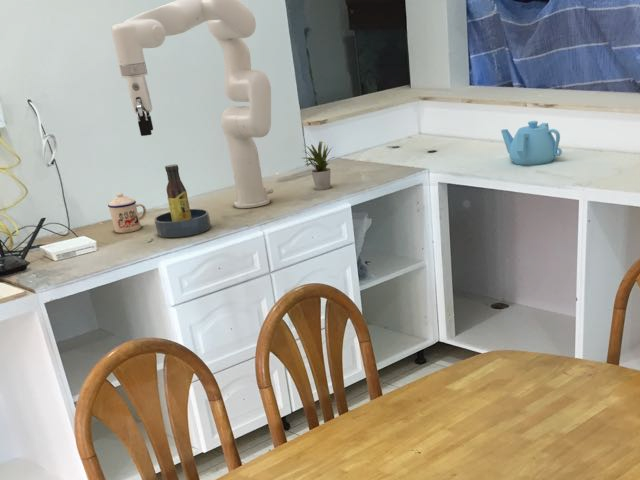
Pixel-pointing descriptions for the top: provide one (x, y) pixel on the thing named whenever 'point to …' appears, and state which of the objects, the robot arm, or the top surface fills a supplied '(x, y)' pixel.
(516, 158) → the teapot
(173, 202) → the sauce bottle
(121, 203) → the teacup with lid
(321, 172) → the house plant
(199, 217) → the bowl
